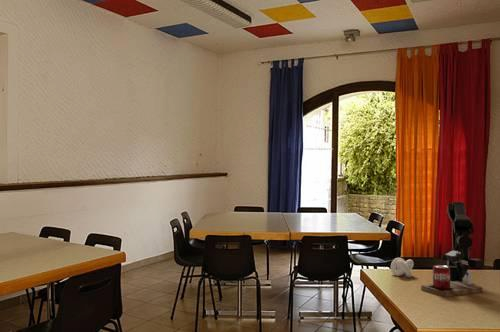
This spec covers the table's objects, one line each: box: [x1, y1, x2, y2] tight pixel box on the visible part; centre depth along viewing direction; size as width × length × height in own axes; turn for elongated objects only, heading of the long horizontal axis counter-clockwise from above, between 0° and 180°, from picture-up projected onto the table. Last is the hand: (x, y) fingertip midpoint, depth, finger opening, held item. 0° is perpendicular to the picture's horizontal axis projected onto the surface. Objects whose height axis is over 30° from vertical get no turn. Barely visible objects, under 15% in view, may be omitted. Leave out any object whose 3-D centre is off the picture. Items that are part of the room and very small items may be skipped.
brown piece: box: [420, 270, 483, 298], centre depth 203 cm, size 25×13×8 cm, turn 115°
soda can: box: [432, 264, 451, 291], centre depth 200 cm, size 7×7×12 cm
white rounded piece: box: [390, 257, 415, 278], centre depth 233 cm, size 11×12×9 cm
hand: (461, 277), depth 206 cm, fingers closed
